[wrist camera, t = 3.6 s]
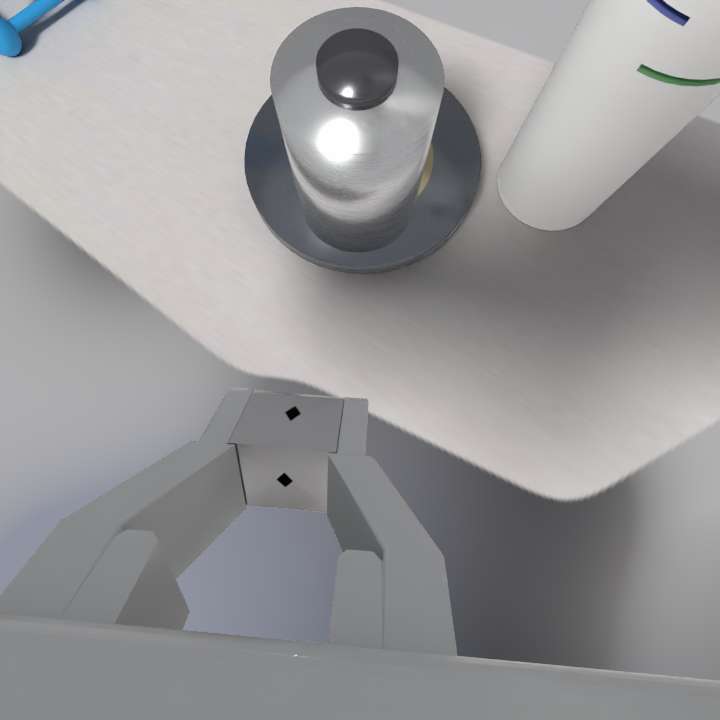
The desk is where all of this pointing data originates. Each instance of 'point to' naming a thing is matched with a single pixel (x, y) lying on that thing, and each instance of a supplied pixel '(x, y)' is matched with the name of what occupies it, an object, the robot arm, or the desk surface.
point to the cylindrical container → (611, 105)
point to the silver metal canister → (357, 121)
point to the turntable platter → (432, 208)
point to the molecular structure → (21, 25)
